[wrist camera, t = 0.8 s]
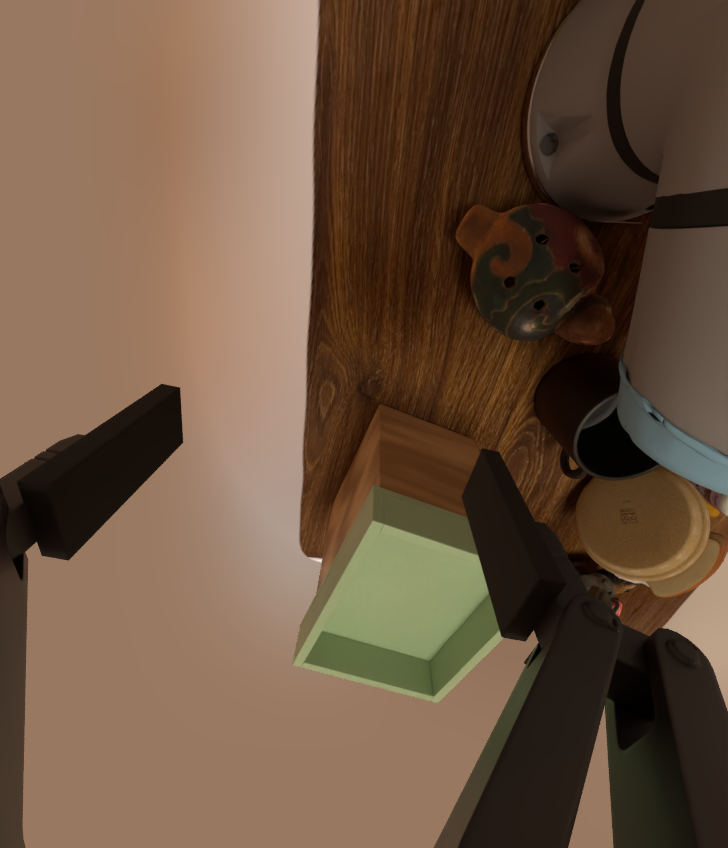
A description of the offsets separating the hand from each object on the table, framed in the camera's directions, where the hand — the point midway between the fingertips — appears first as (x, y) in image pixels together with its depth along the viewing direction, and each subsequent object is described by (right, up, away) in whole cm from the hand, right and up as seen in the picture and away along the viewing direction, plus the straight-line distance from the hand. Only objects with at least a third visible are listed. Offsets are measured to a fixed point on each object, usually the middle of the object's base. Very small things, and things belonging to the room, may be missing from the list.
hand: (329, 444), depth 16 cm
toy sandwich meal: (+29, -9, +21) cm, 37 cm away
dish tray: (+5, -13, +14) cm, 20 cm away
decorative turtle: (+16, +15, +17) cm, 28 cm away
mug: (+24, +3, +23) cm, 34 cm away
